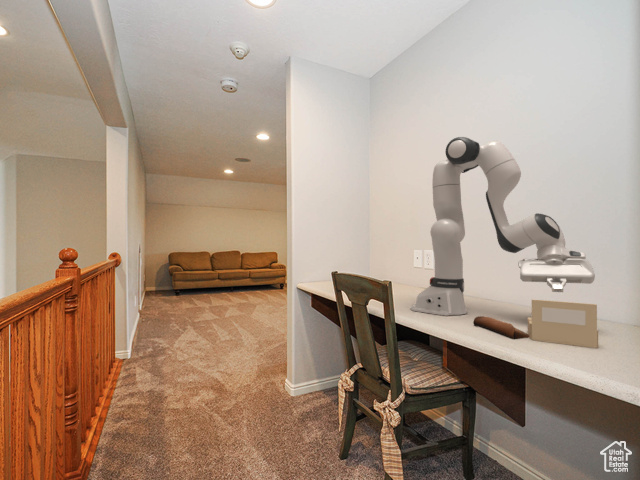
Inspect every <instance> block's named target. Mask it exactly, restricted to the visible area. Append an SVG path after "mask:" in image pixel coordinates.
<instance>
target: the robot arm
mask: <svg viewBox="0 0 640 480" xmlns="http://www.w3.org/2000/svg"><path fill="white" fill-rule="evenodd" d="M445 156H446V160H442V161H439V162H438V163H436V164H435V165H434V167H433V173H432V185H431V186H432V205H433V209H434V212H435V216H436V217H435V219H436V221H435V222H434V223H433V224H432V226H431V227H430V236H431V245H432V249H433V250H432V251H433V257H434V276H432V277H431V278H430V279H429V286H428V287H426V288H425V289H424V290H422V291H421V292H420V293H418V294H417V296H416V300H415V303H414V304H412V305H410V311H413V312H419V313H426V314H433V315H439V316H458V315H466V314H467V313H468V310H467V308H466V303H465V298H464V291H465V279H464V277H463V276H464V275H463V274H464V273H463V272H464V271H463V267H464V266H463V265H464V264H463V261H464V260H463V254H462V247H461V242H462V241H463V240H464V238H465V237H466V236H465V235H466V230H465V229H466V228H465V227H466V226H465V220H464V219H465V218H464V213H463V207H462V193H461V192H462V191H461V174H464V173H467V172H469V171H470V170H474V169H476V168H478V167H479V168H480V169H481V170H482V171H483V174H484V176H485V177H486V180H487V191H486V192H485V199H486V203H487V206H488V209H489V213H490V216H491V219H492V222H493V225H494V228H495V233H496V239H497V242H498V245H499V247H500V248H501V249H502V250H503V251H506V252H508V253H512V254H516V253H518V252H521V251H522V250H524V249H527V248H528V247H531V246H533V245H535V247H536V249H537V250H536V257H537V258H528V259H527V258H523V259H521V260H519V261H518V268H520V271H519V272H520V273H519V275H520V277H519V278H520V280H521V281H522V282H525V283H526V282H528V283H530V282H531V283H546V285H547V286H549V288H551V292H553V293H564V287H566V285H567V284H588V285H589V284H592V283H594V281H595V278H596V274H595V271H594V268H593V266H592V264H591V262H590V261H589V260H587V259H586V254H585V253H584V252H582V251H576V250H572V249H567V248H566V239H565V236H564V233H563V231H562V229H561V227H560V226H559V224H558V222H556V221H555V220H554V218H552V217H551V216H549V215H547V214H543V213H534V214H532V215H530V216H528V217H525V218H523V219H521V220H519V221H517V222H516V223H513V224H511V225H510V222H509V220H508V218H507V217H508V216H507V214H506V211H505V208H504V204H505V201H506V198H507V197H508V196H509V195H510V193H512V191H513V190H514V189H515V188H516V187H517V186H518V184H519V182H520V180H521V177H522V176H521V175H522V172H521V169H520V166H519V164H518V162H517V161H516V159H515V158H514V156H513V155H512V153H511V152H510V150H509V149H508V148H507V147H506V146H505V145H504V144H503V143H502V142H501V141H498V140H492V141H489V142H487V143H485V144H483V145H480V143H479V142H477V141H475V140H473V139H471V138H469V137H467V136H458V137H454V138H452V139H451V140H450V141H449V142H448V143H447V145H446V146H445ZM554 283H556V284H554ZM557 283H559V284H557Z"/></svg>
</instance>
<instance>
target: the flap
mask: <svg viewBox="0 0 640 480" xmlns="http://www.w3.org/2000/svg"><path fill="white" fill-rule="evenodd" d="M531 318H532V339H531V341H537V342H546V343H551V344H552V343H553V344H561V345H569V346H575V347H584V348H590V349H591V348H592V349H597V348H598V347H597V330H598V305H597V303H587V302H585V303H584V302H570V301H559V300H557V301H556V300H544V299H535V298H534V299H533V298H532V299H531Z"/></svg>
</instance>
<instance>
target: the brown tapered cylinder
mask: <svg viewBox="0 0 640 480" xmlns="http://www.w3.org/2000/svg"><path fill="white" fill-rule="evenodd" d="M472 323H473V326H477V327H480V328H486V329H488V330H490V331H493V332H497V334H500V335H503V336H506V337H507V338H511V339H513V340H520V339H530V338H529V335H528V332H524V331H523V330H521V329H519V328H516V327H515V326H514V325H513V324H512V323H508V322H505V321H502V320H499V319H496V318H493V317H489V316H484V315H483V316H482V315H479V316H476V317H475V318H474V319H473V322H472Z"/></svg>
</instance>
